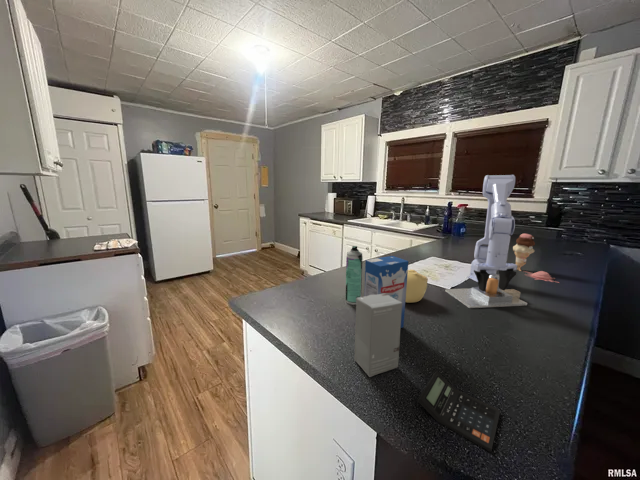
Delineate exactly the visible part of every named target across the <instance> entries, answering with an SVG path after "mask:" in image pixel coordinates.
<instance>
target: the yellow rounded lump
mask: <svg viewBox="0 0 640 480" xmlns="http://www.w3.org/2000/svg"><path fill="white" fill-rule="evenodd" d="M428 281H429V279H428V277H427V276H425V275H423V274H421V273H419V272H417V270H415V269H411V268H410V269H408V274H407V287H406V300H405V303H408V304H409V303H417V302H419V301H421V300H422V299H423V298H424V296H425V293H426V291H427V288H428Z"/></svg>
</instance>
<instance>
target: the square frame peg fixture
mask: <svg viewBox="0 0 640 480" xmlns="http://www.w3.org/2000/svg"><path fill="white" fill-rule="evenodd" d="M471 288H472V291H471V294H473V295H474V296H476V297H478V298H479V299H481V300H482V301H484V302H486V303H487V304H501V303H512V299H520V297H521V291H519V290H516V289H514V288H511V289H507V288H506V289H505V290H502V289H498V288H497V294H491V295H490V294H489V293H487V292H486V289H485V291H482V290H480V289H479V286H474V287H473V286H472V287H471Z"/></svg>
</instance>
